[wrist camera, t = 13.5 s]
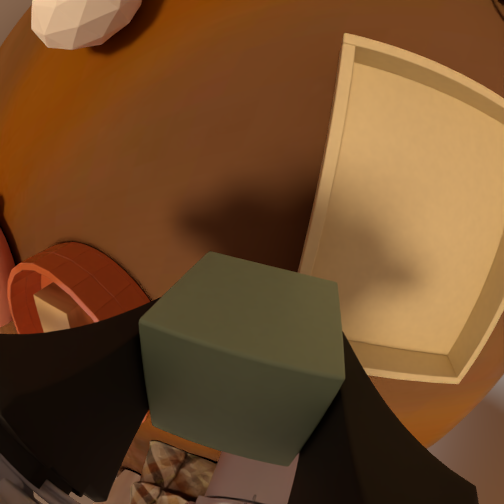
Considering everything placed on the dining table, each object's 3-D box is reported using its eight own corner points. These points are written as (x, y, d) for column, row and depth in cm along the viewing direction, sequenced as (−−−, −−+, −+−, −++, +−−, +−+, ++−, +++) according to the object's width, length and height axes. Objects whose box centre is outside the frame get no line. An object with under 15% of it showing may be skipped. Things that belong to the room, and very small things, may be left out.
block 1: (108, 329, 22) (78, 358, 18) (74, 313, 22) (45, 337, 18) (102, 287, 20) (66, 314, 16) (67, 272, 21) (32, 294, 17)
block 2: (303, 375, 10) (288, 468, 6) (199, 347, 11) (151, 426, 7) (338, 281, 9) (347, 378, 5) (209, 249, 9) (136, 319, 5)
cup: (111, 463, 41) (85, 503, 29) (126, 462, 37) (97, 509, 25) (147, 487, 42) (126, 527, 30) (168, 488, 38) (144, 534, 26)
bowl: (176, 415, 25) (157, 450, 20) (59, 355, 27) (36, 377, 23) (175, 271, 18) (134, 308, 14) (30, 225, 21) (-7, 242, 16)
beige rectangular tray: (446, 357, 16) (458, 384, 13) (282, 328, 18) (275, 357, 15) (523, 131, 10) (550, 133, 7) (339, 52, 12) (343, 32, 9)
